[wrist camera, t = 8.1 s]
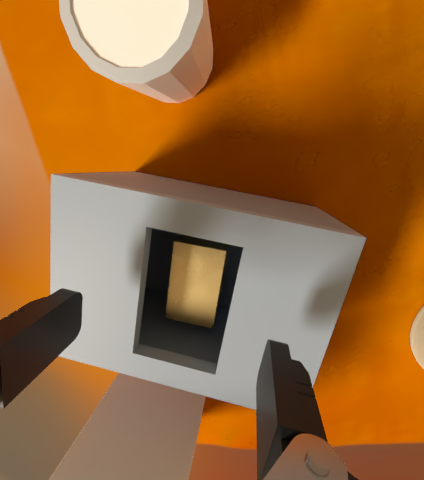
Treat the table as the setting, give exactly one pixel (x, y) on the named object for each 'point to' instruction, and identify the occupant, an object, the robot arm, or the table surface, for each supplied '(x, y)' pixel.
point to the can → (418, 337)
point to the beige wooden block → (196, 280)
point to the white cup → (144, 43)
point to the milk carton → (136, 434)
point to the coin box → (158, 275)
